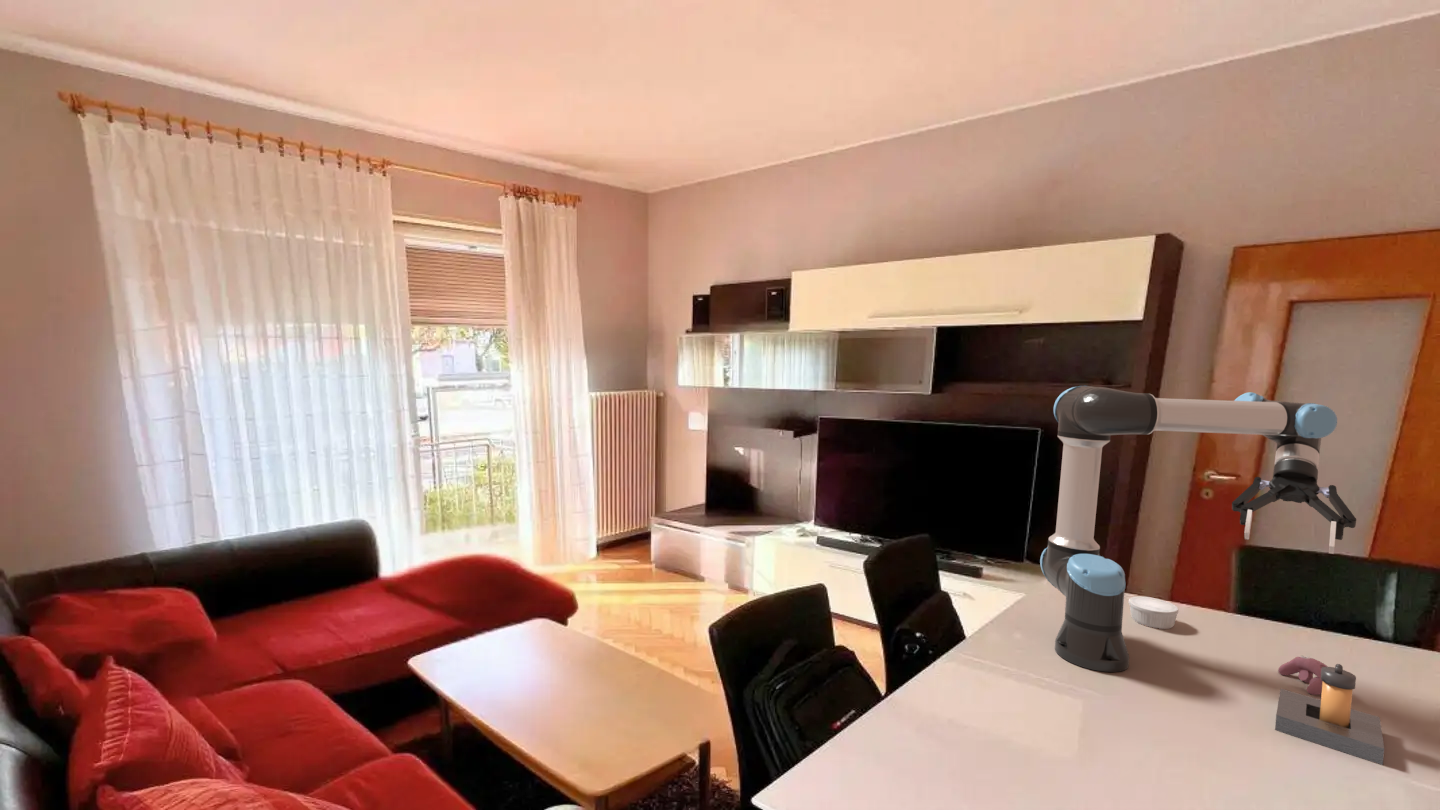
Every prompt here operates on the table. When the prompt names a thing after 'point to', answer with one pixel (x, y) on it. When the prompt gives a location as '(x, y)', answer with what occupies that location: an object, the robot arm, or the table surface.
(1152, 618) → the ramekin
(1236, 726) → the table surface
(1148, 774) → the table surface
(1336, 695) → the orange lidded canister
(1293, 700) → the grey square socket block
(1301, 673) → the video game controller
